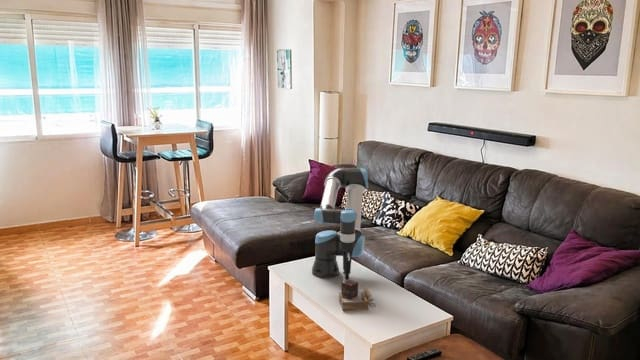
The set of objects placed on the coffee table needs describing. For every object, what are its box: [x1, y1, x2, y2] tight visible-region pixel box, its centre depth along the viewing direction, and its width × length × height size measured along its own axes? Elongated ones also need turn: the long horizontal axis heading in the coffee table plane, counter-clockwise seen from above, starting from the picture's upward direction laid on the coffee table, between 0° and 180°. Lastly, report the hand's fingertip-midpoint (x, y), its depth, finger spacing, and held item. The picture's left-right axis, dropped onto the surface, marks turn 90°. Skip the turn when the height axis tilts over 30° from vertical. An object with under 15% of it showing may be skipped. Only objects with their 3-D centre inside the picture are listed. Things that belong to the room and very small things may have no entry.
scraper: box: [363, 287, 376, 308], centre depth 252 cm, size 17×2×2 cm, turn 7°
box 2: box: [338, 291, 369, 312], centre depth 246 cm, size 12×12×4 cm
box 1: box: [340, 278, 359, 300], centre depth 255 cm, size 6×6×7 cm
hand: (346, 284), depth 265 cm, fingers closed
